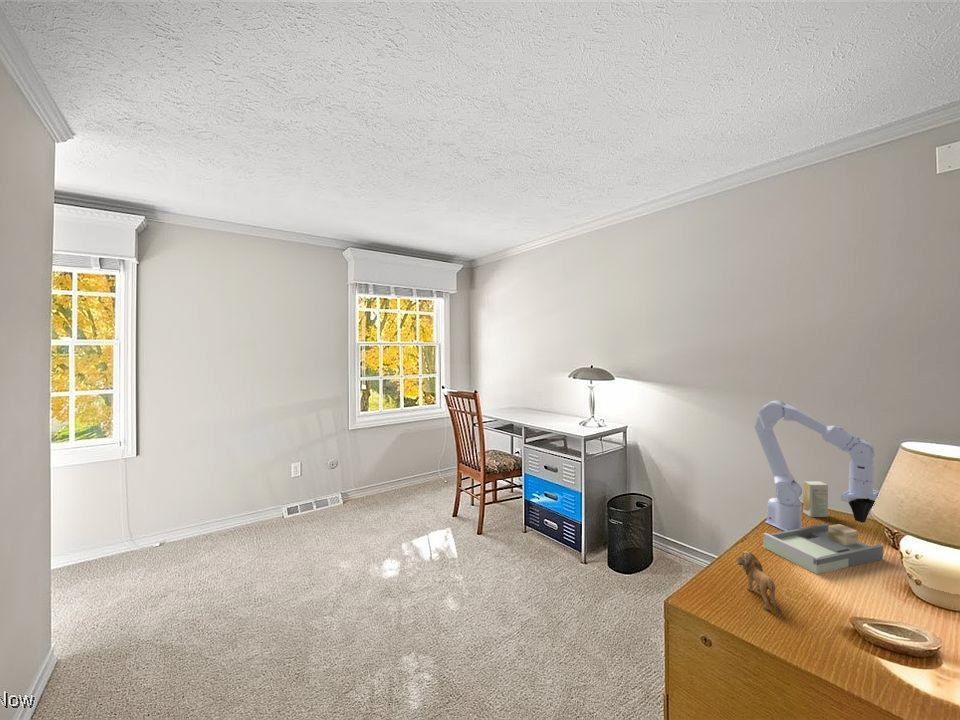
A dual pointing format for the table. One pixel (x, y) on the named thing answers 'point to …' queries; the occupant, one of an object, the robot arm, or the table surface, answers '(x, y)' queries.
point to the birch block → (842, 534)
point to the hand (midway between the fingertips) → (859, 521)
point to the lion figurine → (758, 577)
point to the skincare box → (815, 498)
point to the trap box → (819, 549)
